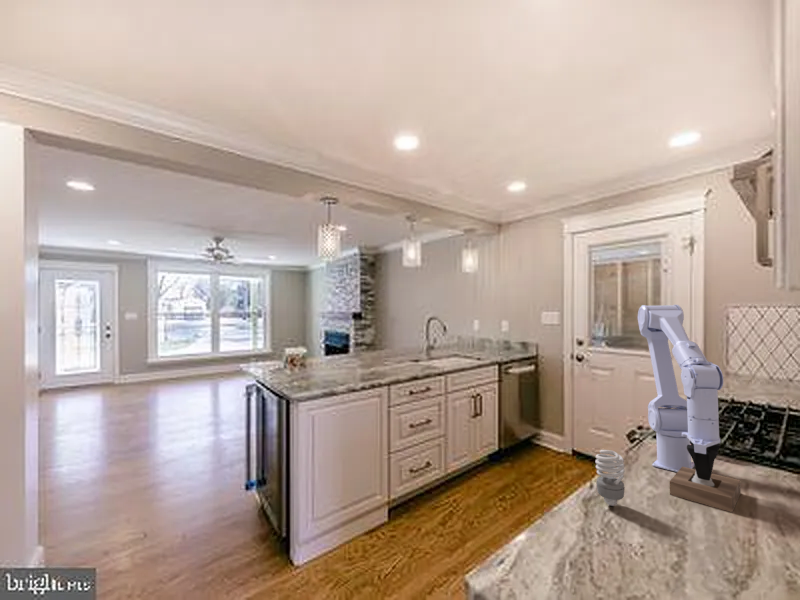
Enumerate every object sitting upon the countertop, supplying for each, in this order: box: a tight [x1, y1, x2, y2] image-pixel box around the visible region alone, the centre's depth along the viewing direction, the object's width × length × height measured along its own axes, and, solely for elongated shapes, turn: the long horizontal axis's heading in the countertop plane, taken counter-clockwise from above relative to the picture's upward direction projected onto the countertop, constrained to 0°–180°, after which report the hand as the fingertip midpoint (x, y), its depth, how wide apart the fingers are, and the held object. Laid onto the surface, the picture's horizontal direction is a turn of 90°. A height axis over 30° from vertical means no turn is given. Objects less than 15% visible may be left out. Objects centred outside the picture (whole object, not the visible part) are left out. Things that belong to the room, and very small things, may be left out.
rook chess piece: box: [691, 471, 715, 487], centre depth 90 cm, size 4×4×8 cm
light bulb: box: [595, 449, 626, 507], centre depth 85 cm, size 6×6×12 cm
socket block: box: [669, 467, 741, 513], centre depth 89 cm, size 12×11×3 cm
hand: (704, 476), depth 90 cm, fingers closed on rook chess piece, 3 cm apart
